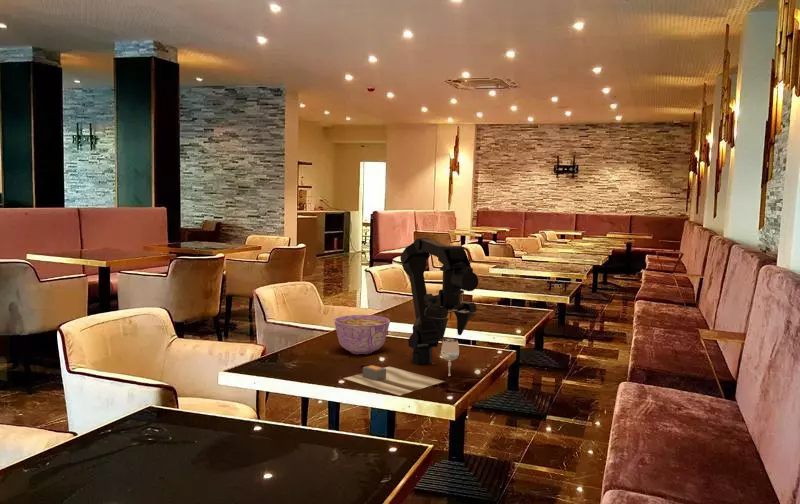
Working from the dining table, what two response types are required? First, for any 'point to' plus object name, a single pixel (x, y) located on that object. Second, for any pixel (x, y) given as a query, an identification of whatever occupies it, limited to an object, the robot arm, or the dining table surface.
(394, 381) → the subfloor board
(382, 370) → the block
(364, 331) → the bowl of food
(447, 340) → the wineglass
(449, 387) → the dining table surface
